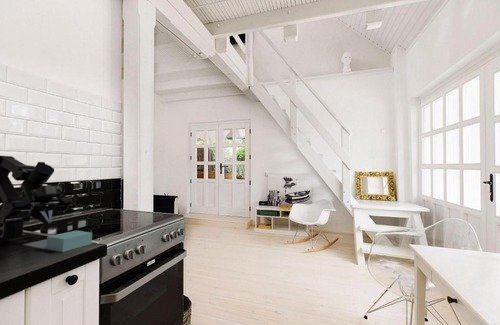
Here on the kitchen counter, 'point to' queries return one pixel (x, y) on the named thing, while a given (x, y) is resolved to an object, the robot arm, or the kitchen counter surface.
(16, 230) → the robot arm
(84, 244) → the teal block
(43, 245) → the slate mat
